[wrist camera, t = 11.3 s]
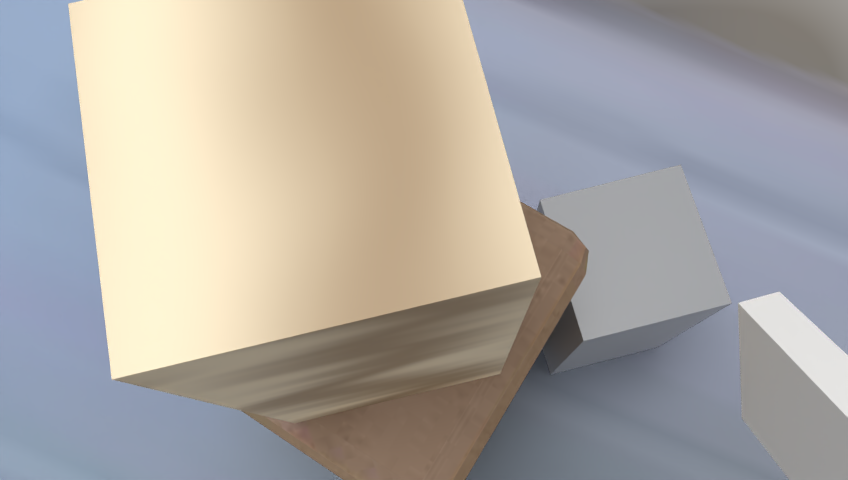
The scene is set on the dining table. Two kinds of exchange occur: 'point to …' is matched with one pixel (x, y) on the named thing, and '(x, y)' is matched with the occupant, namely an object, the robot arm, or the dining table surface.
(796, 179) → the dining table surface
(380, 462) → the block
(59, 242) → the dining table surface
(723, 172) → the dining table surface
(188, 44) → the oak block
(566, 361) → the grey block
